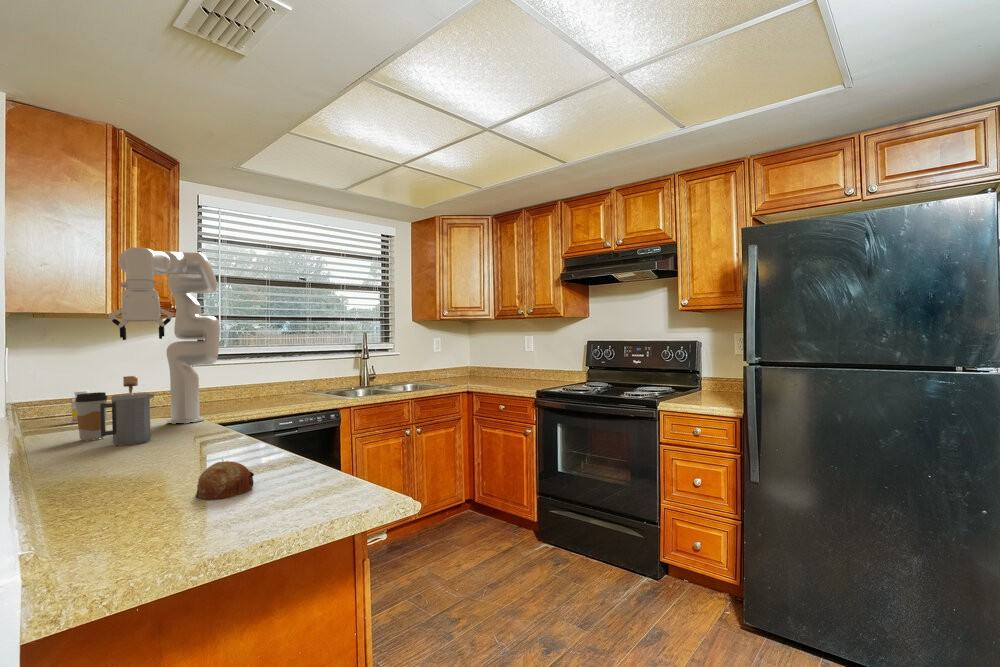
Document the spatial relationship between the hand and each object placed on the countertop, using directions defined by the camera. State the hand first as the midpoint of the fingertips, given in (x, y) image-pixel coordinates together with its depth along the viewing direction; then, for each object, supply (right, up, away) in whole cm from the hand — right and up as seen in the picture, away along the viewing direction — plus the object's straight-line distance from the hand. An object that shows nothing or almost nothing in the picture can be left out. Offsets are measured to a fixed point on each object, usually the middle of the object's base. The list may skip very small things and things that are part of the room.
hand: (142, 339), depth 164 cm
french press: (+1, -32, -6) cm, 33 cm away
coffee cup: (-18, -33, +3) cm, 38 cm away
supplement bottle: (-55, -35, +43) cm, 78 cm away
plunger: (+1, -31, -6) cm, 31 cm away
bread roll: (+61, -30, -63) cm, 93 cm away
